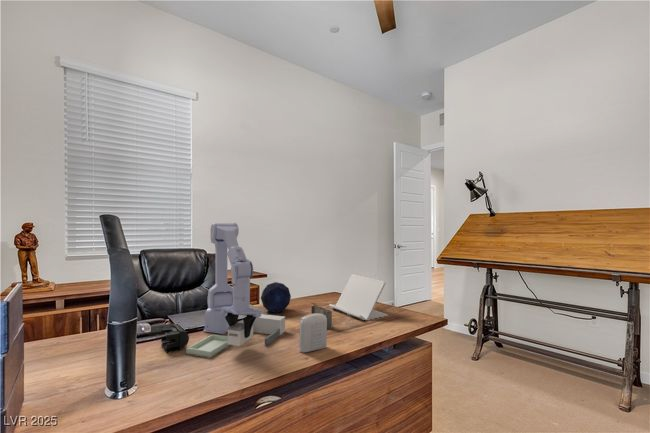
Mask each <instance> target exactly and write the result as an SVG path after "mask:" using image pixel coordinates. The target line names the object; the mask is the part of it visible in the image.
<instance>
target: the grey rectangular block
mask: <svg viewBox="0 0 650 433" xmlns="http://www.w3.org/2000/svg"><path fill="white" fill-rule="evenodd" d="M244 332H245V328H244V322H243V319H242V320H239V321H238V322H237V323H236V324H234V325H232V326H230V327H228V332H227V336H228V344H229V345H230V346H236V347H240V346H243V344H245V343H247V341H249V340H250V339H253V337H254V332H253V325H252V328H251V331H250V336H249V337H247V338H245V335H244Z"/></svg>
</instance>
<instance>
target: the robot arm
mask: <svg viewBox="0 0 650 433" xmlns="http://www.w3.org/2000/svg"><path fill="white" fill-rule="evenodd" d="M238 236H239V225H238V223H237V222H230V223H229V222H228V223H227V222H213V223H212V224H211V226H210V243H211V244H214V247H215V250H214V252H215V253H214V254H215V256H214V257H215V263H214V264H215V266H214V267H215V268H214V269H215V271H214V272H215V278H214V279H215V280H214V282H215V284H213V285H212V286H211V287H210V288H209V289H208V291H207V298H206V299H207V300H206V301H207V309H206V310H205V314H204V329H203V332H205V333H211V334H218V335H219V334H220V335H224V334H226V333H228V327H230V326H232V325H234V324H236V323H238V322H239V321H238V320H239V316H245V317H243V318H242V320H243V322H244V328H245V332H244V335H245V338H247V337H249V336H250V331H251V328H252V325H253V323H254V321H255V319H256V318H259V317H261V314H262V310H260V309H254V308H251V307H250V304H251V300H250V299H251V278H253V274H254V266H253V262H252V261H251V260H249V259H247V257H246V254H245V251H244V249H243V248H242V247H241V246H239V243H238ZM228 262H229V263H230V276H231V283H232V286H231V285H230V284H228V280H229V279H228Z"/></svg>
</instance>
